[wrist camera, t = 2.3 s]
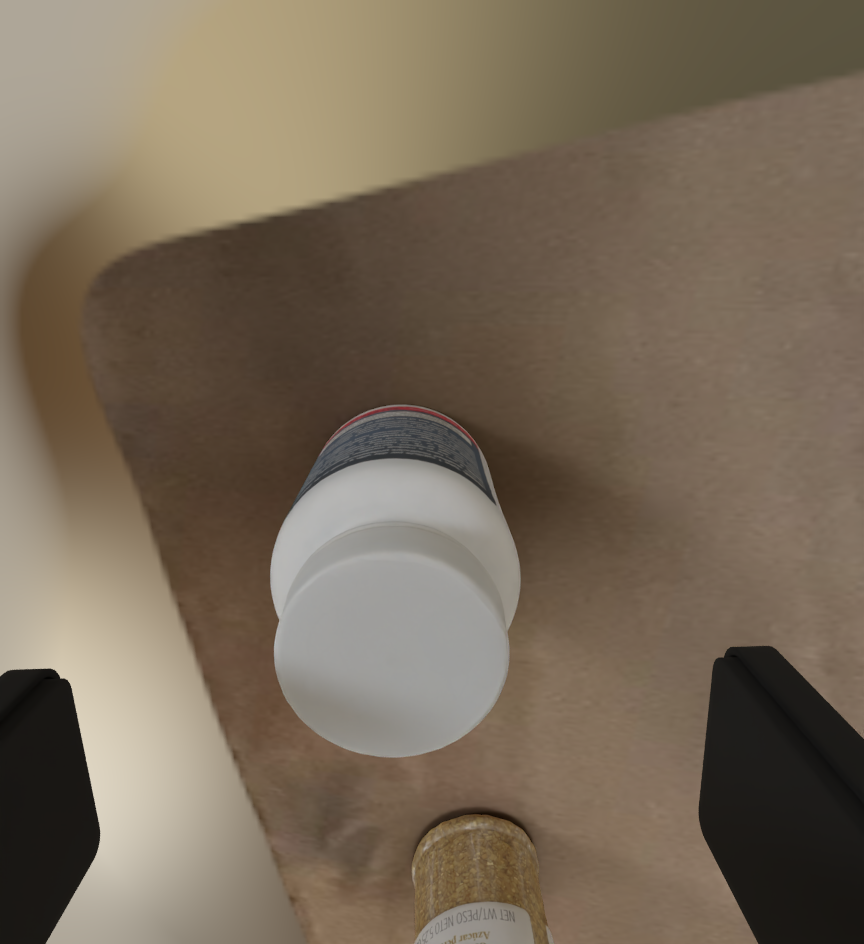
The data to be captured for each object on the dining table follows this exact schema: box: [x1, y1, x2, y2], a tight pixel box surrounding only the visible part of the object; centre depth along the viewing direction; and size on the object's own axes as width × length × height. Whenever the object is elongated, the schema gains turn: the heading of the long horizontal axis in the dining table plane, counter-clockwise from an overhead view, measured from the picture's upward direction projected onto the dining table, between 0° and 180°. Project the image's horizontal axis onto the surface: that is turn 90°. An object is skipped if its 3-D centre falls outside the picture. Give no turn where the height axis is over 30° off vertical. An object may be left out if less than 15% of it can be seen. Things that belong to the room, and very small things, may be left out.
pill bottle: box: [270, 405, 521, 758], centre depth 15 cm, size 5×5×9 cm
